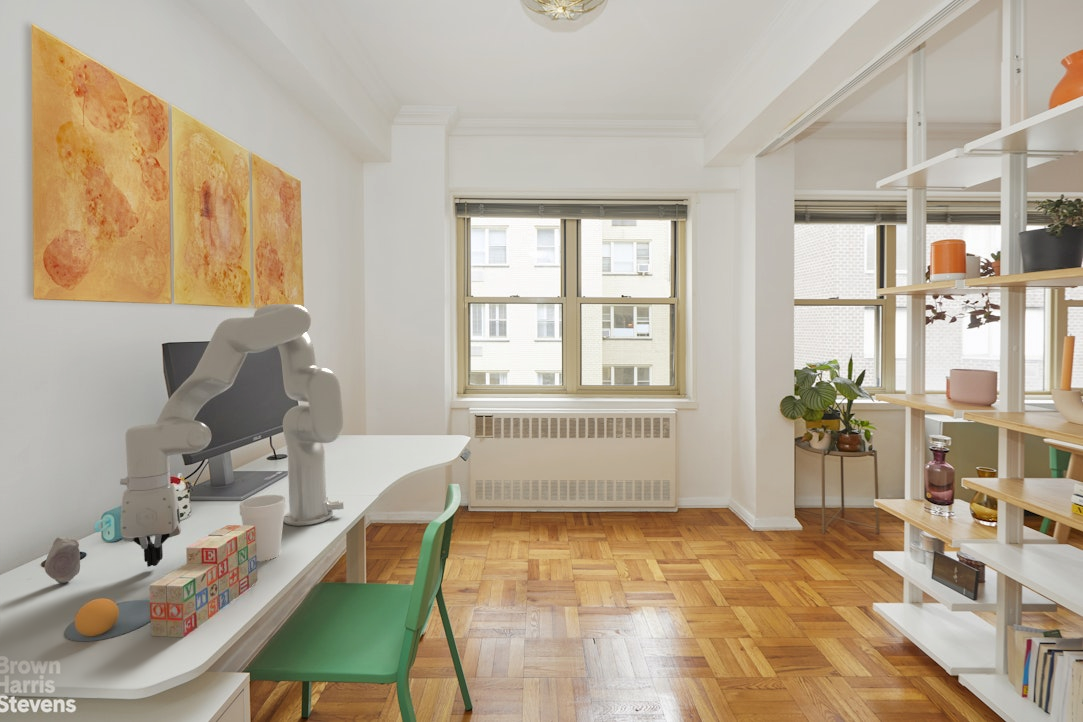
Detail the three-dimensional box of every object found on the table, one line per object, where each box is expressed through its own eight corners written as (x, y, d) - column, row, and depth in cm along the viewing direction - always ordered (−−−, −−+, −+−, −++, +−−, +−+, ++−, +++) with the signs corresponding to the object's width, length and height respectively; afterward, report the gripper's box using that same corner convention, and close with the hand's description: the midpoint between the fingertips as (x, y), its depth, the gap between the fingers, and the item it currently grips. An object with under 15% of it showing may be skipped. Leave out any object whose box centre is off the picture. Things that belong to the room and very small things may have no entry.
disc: (171, 595, 111) (171, 594, 110) (147, 632, 97) (147, 631, 97) (85, 608, 106) (85, 607, 106) (48, 648, 93) (48, 647, 93)
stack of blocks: (184, 638, 96) (180, 569, 95) (150, 637, 96) (146, 568, 95) (258, 581, 117) (256, 524, 116) (230, 580, 117) (227, 523, 117)
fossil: (48, 591, 113) (45, 543, 112) (41, 587, 115) (38, 540, 114) (83, 580, 118) (80, 534, 117) (76, 576, 119) (73, 531, 119)
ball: (107, 609, 94) (110, 641, 95) (123, 589, 100) (126, 619, 101) (65, 614, 93) (69, 646, 94) (84, 593, 98) (87, 624, 99)
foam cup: (296, 550, 132) (294, 497, 132) (265, 566, 124) (262, 509, 123) (264, 545, 136) (262, 493, 135) (232, 561, 127) (230, 505, 126)
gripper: (101, 490, 115) (106, 576, 116) (184, 482, 120) (188, 565, 121) (115, 480, 122) (120, 562, 123) (193, 474, 127) (197, 552, 128)
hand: (153, 563), depth 122 cm, fingers closed
